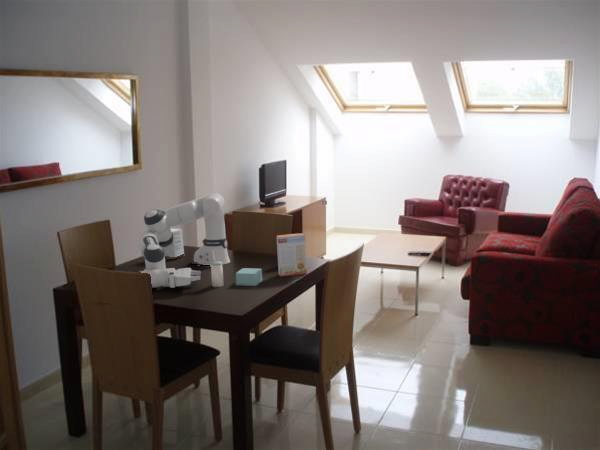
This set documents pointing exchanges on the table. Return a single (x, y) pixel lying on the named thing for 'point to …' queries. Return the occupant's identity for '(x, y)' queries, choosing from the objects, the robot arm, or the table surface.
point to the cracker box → (291, 254)
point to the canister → (217, 273)
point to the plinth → (249, 277)
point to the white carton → (175, 244)
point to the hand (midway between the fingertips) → (200, 275)
